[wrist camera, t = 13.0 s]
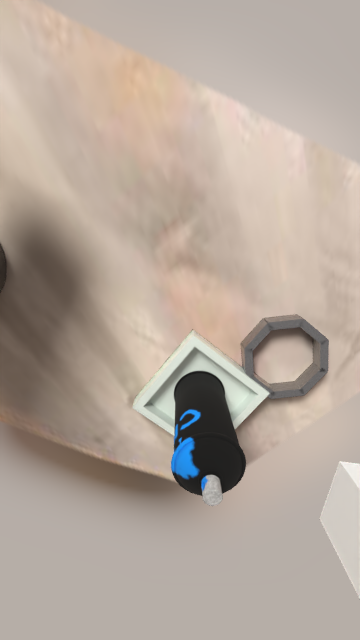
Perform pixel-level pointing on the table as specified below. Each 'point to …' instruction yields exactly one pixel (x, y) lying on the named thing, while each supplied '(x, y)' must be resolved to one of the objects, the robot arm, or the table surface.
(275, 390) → the collar
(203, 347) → the tray
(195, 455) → the aerosol can
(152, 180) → the table surface
